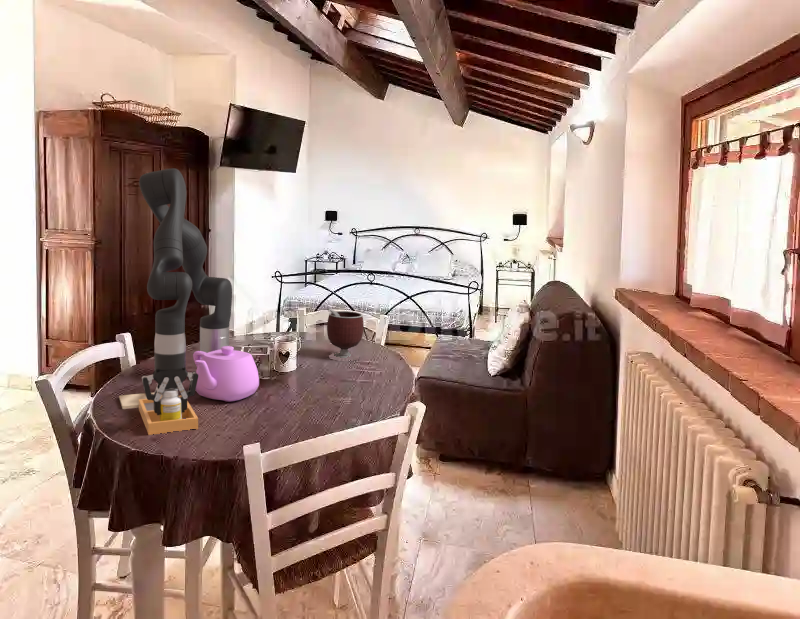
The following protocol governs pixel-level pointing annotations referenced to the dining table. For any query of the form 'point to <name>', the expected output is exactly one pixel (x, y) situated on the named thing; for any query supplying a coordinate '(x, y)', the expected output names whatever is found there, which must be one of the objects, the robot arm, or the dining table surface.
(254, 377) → the teapot
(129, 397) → the mat
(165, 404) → the supplement bottle
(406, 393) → the dining table surface
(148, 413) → the divided wooden tray
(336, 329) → the mate gourd
